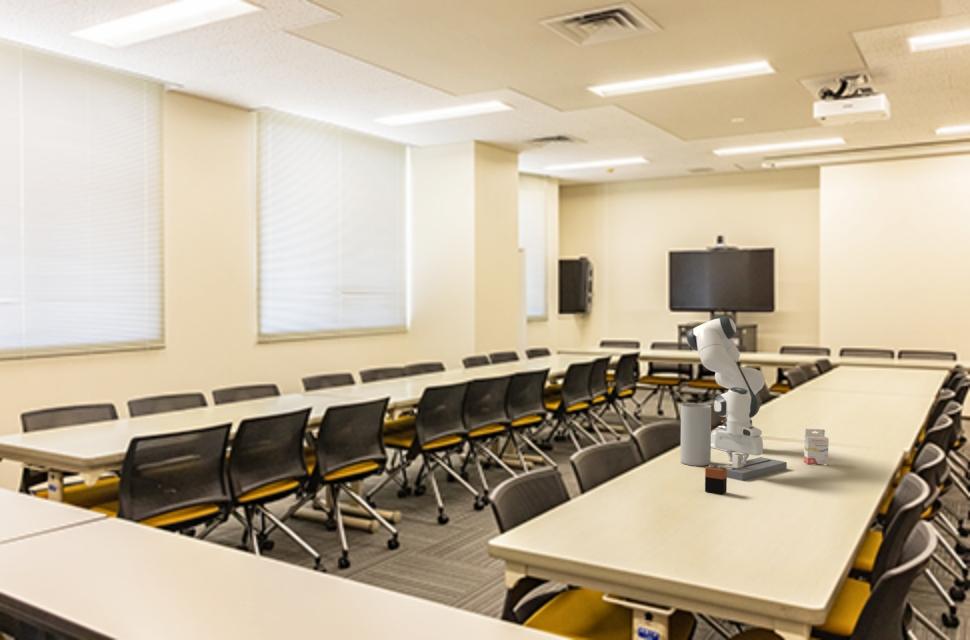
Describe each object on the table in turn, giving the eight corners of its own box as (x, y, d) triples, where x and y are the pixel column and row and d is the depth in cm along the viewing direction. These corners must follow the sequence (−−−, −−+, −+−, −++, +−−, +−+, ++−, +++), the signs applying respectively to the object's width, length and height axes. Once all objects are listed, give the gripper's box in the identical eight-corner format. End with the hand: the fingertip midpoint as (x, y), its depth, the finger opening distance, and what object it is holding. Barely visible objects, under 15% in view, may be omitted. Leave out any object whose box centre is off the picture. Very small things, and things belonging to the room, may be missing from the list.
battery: (723, 495, 268) (723, 467, 268) (704, 492, 272) (704, 465, 271) (726, 492, 271) (727, 465, 271) (708, 489, 275) (708, 462, 275)
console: (715, 474, 298) (715, 467, 298) (760, 464, 318) (760, 457, 318) (742, 480, 289) (742, 472, 289) (786, 469, 308) (786, 462, 308)
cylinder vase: (714, 466, 313) (715, 407, 312) (684, 466, 313) (685, 407, 312) (705, 460, 326) (706, 403, 325) (677, 459, 325) (677, 403, 325)
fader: (732, 471, 297) (732, 454, 297) (737, 470, 299) (738, 453, 299) (737, 473, 295) (737, 455, 295) (743, 471, 297) (743, 454, 297)
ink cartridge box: (807, 464, 317) (808, 430, 316) (803, 462, 322) (804, 428, 321) (828, 465, 316) (829, 431, 316) (824, 462, 321) (824, 429, 321)
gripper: (711, 425, 303) (710, 459, 303) (756, 433, 287) (755, 468, 287) (720, 424, 307) (720, 457, 307) (765, 431, 291) (764, 466, 291)
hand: (737, 462), depth 297 cm, fingers open, 4 cm apart
